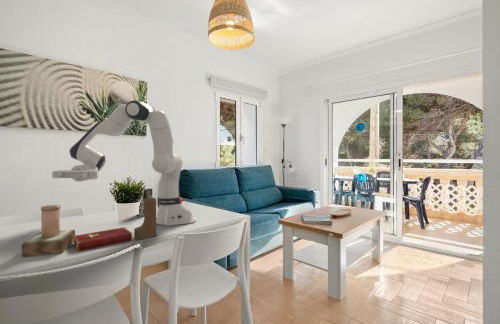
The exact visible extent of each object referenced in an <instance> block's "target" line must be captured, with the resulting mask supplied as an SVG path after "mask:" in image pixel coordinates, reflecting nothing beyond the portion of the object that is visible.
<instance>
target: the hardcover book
mask: <svg viewBox="0 0 500 324" xmlns="http://www.w3.org/2000/svg"><path fill="white" fill-rule="evenodd" d="M73 238H74V243H73V245H74V247H75V248H76V252H77V253H79V252H84V251H87V250H88V251H89V250H93V249H97V248H102V247H107V246H112V245H118V244H121V243H127V242H132V241H133V232H132V231H130V230H129V229H128V228H126V227H125V226H124V227H117V228H112V229H111V228H110V229H106V230H101V231H93V232H88V233H81V234H77V235H76V234H75V236H73Z"/></svg>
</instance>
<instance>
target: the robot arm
mask: <svg viewBox="0 0 500 324" xmlns="http://www.w3.org/2000/svg"><path fill="white" fill-rule="evenodd" d="M134 121H136V122H139V123H144V124H148V127H149V132H150V135H151V141H152V146H153V158H152V161H151V167H152V169H153V170H154V172H156V173H158V174H161V175H160V179H159V181H158V184H157V191H158V192H157V199H156V207H157V211H156V225H157V224H158V225H163V226H167V227H169V226H178V225H184V224H185V225H186V224H194V223H195V222H196V221H197V219H196V217H195V216H193V212H192V210H191V208H190V207H188V206H187V205H185V204H184V203H183V202H184V199H183V198H182V197H181V196H179V181H180V178H181V177H180V176H181V169H182V166H183V159H182V157H181V156H179V155H178V154H176V153H174V148H173V145H174V139H173V134H172V129H171V125H170V122H169V120H168V117H167V115H166V113H165V112H164V111H163V110H156V109H155V107H153V106H152V105H149V104H147V103H146V102H143V101H140V100H130V101H129V102H127V103H126V104H125V103H121V104H118V105H117V107H115V109H114V110H113V111H112V112H111V113H110V115H109V116H108V117H107V119H106V120H104V121H99V122H97V123H95V124H94V125H93V126H92V127H91V128H89V130H88V131H87V132H85V134H84V135H82V137H81V138H80V139H79V140H77V142H75V143H74V144H73V145H72V146H71V147H70V148H69V155H70V158H72V159H74V160H77V161H78V162H81V163H82V164H79V165H78V164H77V165H75V166H73V167H72V168H71V169H70V170H69V169H65V170H62V169H61V170H60V169H59V170H53V171H52V172H51V173H52V174H51V176H52V179H72V180H73V181H74V182H83V181H89V180H97V179H99V172H100V171H101V170H102V169H103V167H104V165H105V164H106V156H105V155H104V154H103V153H101V152H100V151H98V150H96V149H94V148H92V147H91V146H89V143H90V142H91V141H92V140H93V139H94V138H95V137H96V136H97V135H99V134H100V135H106V136H108V137H109V136H111V137H118V136H121V135H123V134H124V133H125V132H126V130H127V129H128V127H129V126H130V125H131V123H132V122H134Z"/></svg>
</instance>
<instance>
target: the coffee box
mask: <svg viewBox="0 0 500 324" xmlns="http://www.w3.org/2000/svg"><path fill="white" fill-rule="evenodd" d="M143 189H144V195H143V197H142V200H141V202H140V206H139V217H144V199H145V198H153V188H143Z"/></svg>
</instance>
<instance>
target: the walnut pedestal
mask: <svg viewBox="0 0 500 324" xmlns="http://www.w3.org/2000/svg"><path fill="white" fill-rule="evenodd" d="M75 235H76V229H68V230H66V229H65V230H60V235H58V236H56V237H50V238H42V237H41V232H38V233H37V234H35V235H34V236H31V238H29V239H27V240H25V241H24V242H22V243H21V257H22V258H24V257H25V258H27V257H36V256H37V257H38V256H49V255H58V254H63V253H64V252H65V251H66V250H67V249H69V248H70V247H71V246H72V245H74V238H73V236H75Z"/></svg>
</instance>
